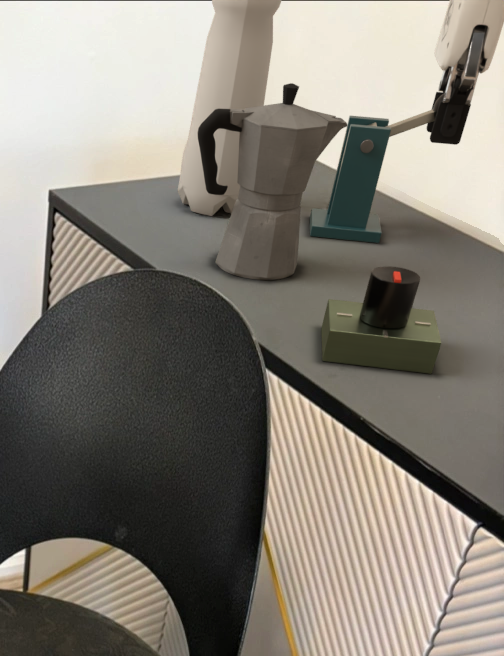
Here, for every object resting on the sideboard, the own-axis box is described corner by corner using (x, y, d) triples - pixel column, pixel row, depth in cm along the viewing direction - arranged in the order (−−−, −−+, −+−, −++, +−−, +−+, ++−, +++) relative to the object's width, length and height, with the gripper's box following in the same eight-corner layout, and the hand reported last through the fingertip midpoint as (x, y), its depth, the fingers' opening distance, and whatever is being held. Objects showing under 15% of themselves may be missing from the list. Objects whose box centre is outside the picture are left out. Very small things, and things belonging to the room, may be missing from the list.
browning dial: (358, 308, 107) (371, 260, 104) (405, 313, 106) (419, 265, 103) (360, 325, 104) (373, 276, 101) (408, 331, 103) (423, 282, 100)
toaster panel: (424, 339, 109) (434, 307, 107) (431, 375, 103) (442, 342, 101) (321, 327, 111) (328, 296, 109) (322, 362, 105) (330, 329, 103)
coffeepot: (302, 251, 128) (341, 74, 116) (326, 281, 121) (370, 96, 109) (169, 250, 127) (196, 71, 115) (186, 280, 120) (215, 93, 108)
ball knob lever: (468, 115, 125) (463, 81, 123) (471, 123, 122) (467, 89, 120) (355, 156, 130) (349, 124, 128) (356, 164, 127) (350, 132, 125)
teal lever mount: (376, 224, 136) (404, 118, 128) (379, 243, 131) (408, 133, 123) (309, 218, 137) (333, 111, 129) (309, 236, 132) (334, 126, 124)
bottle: (260, 217, 137) (318, -82, 117) (191, 220, 135) (238, -83, 115) (231, 194, 143) (281, -92, 123) (165, 197, 142) (205, -93, 122)
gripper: (452, -71, 120) (402, 117, 132) (468, -51, 108) (412, 154, 120) (525, -67, 119) (468, 122, 131) (550, -46, 107) (485, 160, 119)
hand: (442, 135), depth 125 cm, fingers open, 3 cm apart
